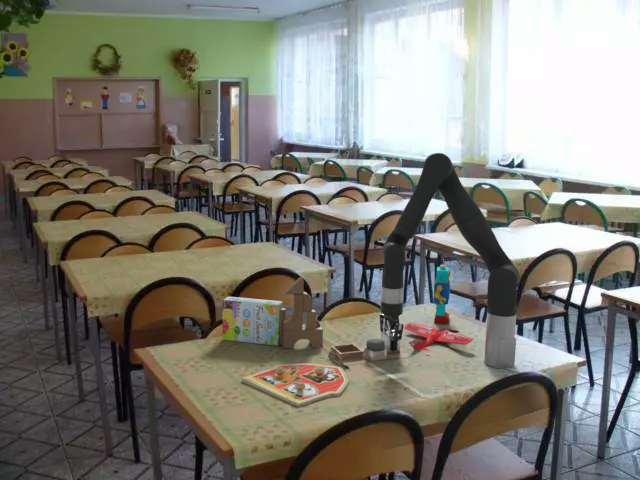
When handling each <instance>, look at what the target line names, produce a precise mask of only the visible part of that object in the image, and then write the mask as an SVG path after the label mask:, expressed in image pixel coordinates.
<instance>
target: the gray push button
mask: <svg viewBox="0 0 640 480" xmlns="http://www.w3.org/2000/svg"><path fill="white" fill-rule="evenodd" d="M365 345H366V346H365V347H366V348H367V349H369V350H372V351H380V350H383V349H384V348H385V342H384V341H383V340H381V339H377V338H371V339H368V340H366V344H365Z"/></svg>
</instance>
